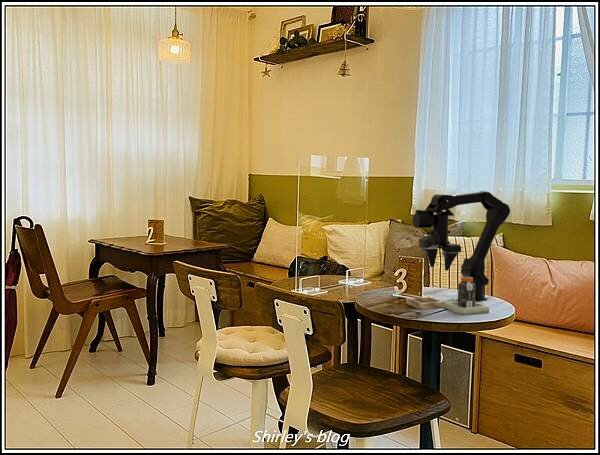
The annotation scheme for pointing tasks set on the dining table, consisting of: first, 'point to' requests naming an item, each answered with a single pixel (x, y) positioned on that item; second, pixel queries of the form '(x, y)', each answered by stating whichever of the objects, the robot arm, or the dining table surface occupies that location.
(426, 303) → the socket collar
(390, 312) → the dining table surface
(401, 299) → the dining table surface
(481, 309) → the tray
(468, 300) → the pill bottle
